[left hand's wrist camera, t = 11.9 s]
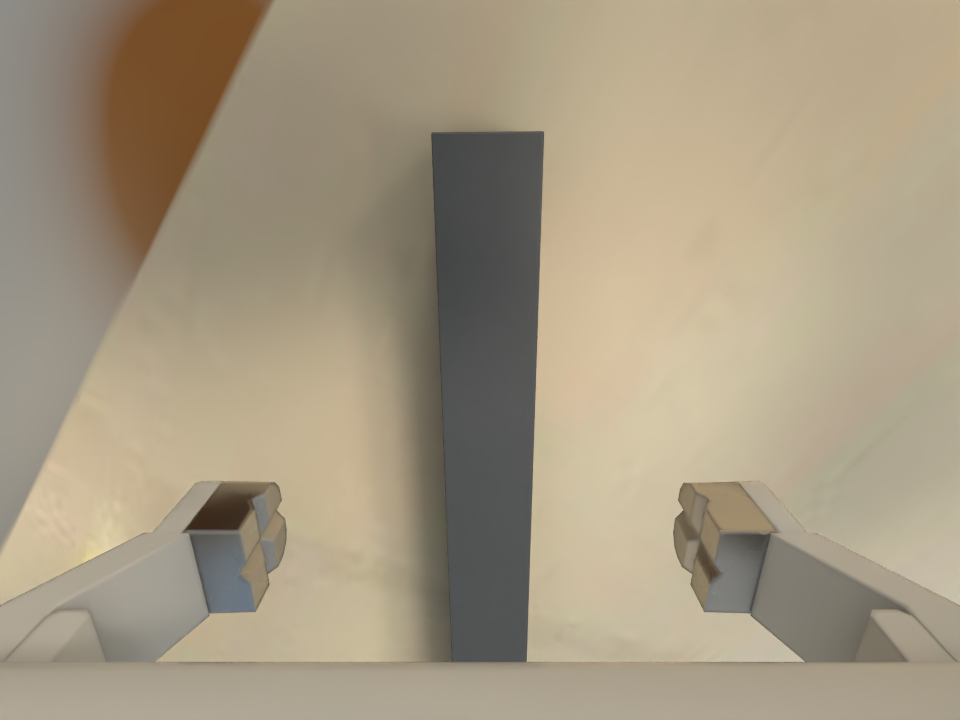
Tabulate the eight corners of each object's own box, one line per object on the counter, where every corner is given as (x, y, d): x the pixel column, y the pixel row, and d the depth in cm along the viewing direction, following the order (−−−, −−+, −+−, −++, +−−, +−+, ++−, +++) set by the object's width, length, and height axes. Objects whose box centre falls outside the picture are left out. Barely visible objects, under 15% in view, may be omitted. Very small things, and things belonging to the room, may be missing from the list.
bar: (443, 137, 30) (431, 132, 23) (527, 136, 30) (544, 131, 23) (467, 903, 60) (466, 1016, 52) (510, 903, 60) (514, 1015, 52)
